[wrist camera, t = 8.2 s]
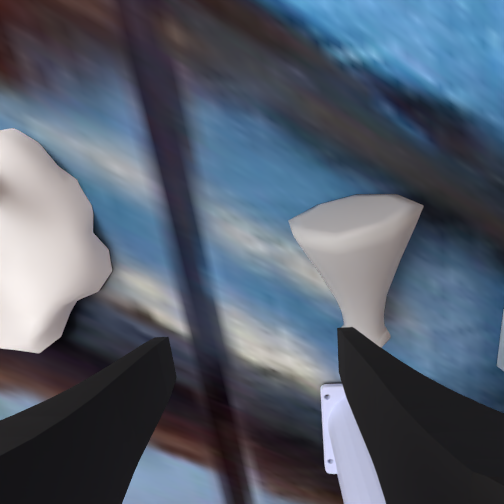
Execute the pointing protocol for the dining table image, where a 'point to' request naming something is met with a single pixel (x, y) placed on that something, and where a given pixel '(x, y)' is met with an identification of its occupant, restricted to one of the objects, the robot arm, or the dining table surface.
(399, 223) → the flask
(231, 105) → the dining table surface
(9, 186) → the figurine
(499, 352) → the gear board
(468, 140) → the dining table surface
